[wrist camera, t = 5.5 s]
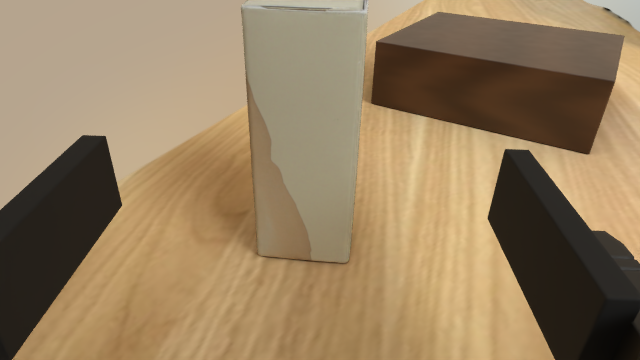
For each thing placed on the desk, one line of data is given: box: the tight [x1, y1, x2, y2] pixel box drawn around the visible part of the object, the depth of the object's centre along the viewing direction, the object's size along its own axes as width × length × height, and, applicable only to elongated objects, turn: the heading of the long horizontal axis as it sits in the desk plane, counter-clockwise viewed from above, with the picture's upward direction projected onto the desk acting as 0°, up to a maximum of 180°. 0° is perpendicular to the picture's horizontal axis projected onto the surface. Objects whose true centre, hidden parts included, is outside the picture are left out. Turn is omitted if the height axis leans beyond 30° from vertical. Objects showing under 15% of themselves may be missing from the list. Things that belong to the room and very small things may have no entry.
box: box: [241, 0, 368, 263], centre depth 20 cm, size 5×4×11 cm
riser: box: [371, 12, 624, 154], centre depth 38 cm, size 16×14×5 cm
